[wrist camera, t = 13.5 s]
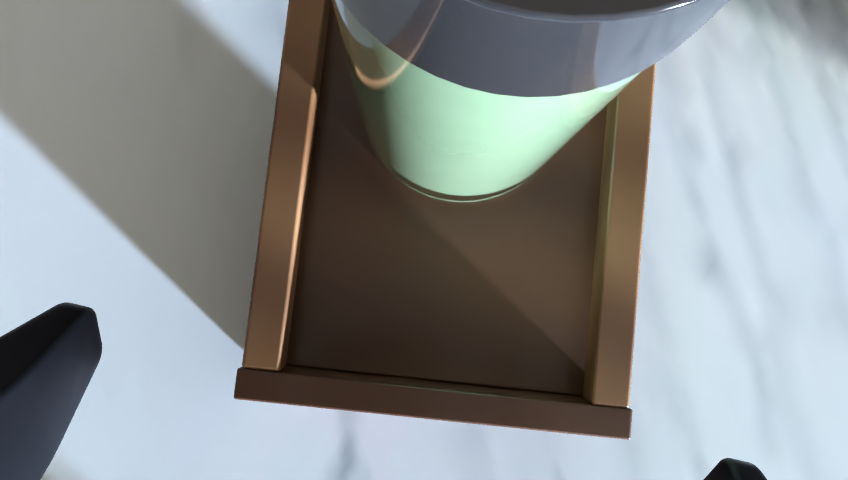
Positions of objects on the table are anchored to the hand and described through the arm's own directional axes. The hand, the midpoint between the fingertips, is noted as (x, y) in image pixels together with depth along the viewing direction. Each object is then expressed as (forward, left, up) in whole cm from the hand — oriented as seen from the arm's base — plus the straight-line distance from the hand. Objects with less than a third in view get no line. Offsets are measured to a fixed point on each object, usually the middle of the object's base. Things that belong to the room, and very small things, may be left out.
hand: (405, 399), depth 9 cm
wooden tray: (+5, -1, -12) cm, 14 cm away
